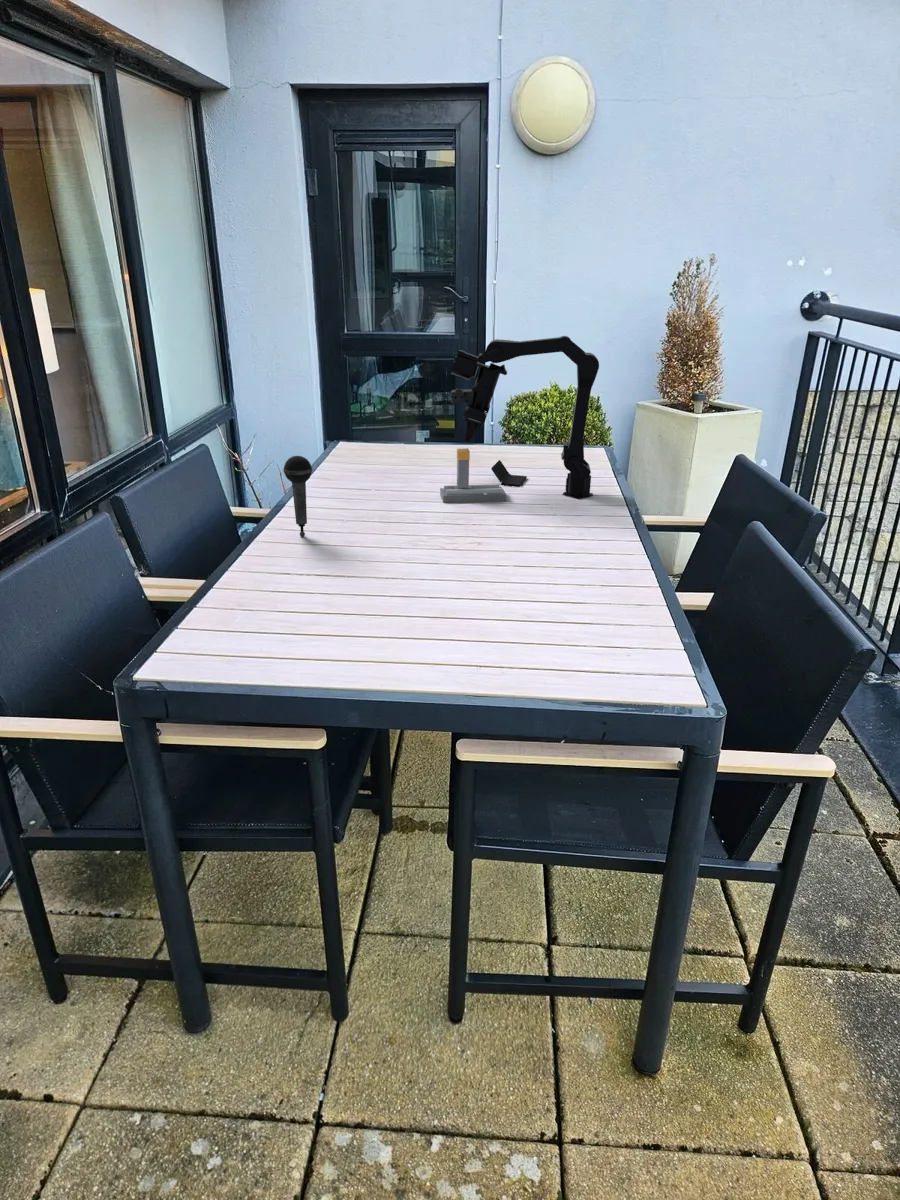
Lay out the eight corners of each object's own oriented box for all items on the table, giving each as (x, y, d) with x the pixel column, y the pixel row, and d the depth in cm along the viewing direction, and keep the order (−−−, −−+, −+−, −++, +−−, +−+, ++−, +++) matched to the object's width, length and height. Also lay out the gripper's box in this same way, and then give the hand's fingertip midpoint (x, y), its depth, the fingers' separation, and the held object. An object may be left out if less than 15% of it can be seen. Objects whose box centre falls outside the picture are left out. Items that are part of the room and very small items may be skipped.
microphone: (310, 542, 189) (305, 460, 181) (283, 540, 191) (277, 458, 183) (320, 533, 196) (315, 453, 188) (294, 531, 197) (288, 452, 189)
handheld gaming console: (527, 482, 237) (508, 455, 235) (507, 496, 239) (488, 469, 237) (528, 478, 248) (510, 452, 246) (509, 491, 250) (491, 465, 248)
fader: (470, 489, 226) (471, 448, 222) (472, 492, 224) (472, 450, 219) (453, 489, 226) (453, 448, 221) (454, 492, 223) (455, 451, 218)
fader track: (501, 493, 231) (501, 482, 229) (506, 501, 223) (506, 490, 222) (440, 495, 228) (440, 484, 227) (443, 502, 221) (443, 491, 220)
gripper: (461, 371, 228) (445, 423, 235) (454, 380, 211) (437, 435, 218) (497, 384, 229) (480, 435, 235) (493, 394, 212) (475, 448, 218)
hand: (468, 438), depth 226 cm, fingers open, 9 cm apart
